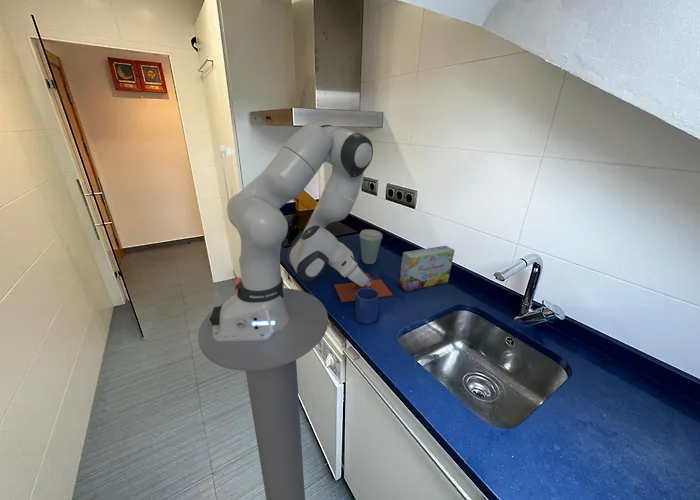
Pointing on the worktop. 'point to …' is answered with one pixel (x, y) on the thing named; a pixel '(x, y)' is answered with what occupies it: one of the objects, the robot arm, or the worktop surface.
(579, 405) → the worktop surface
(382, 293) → the red mat
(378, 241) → the disposable coffee cup
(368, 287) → the pomegranate
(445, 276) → the snack box
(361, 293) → the blue cup
